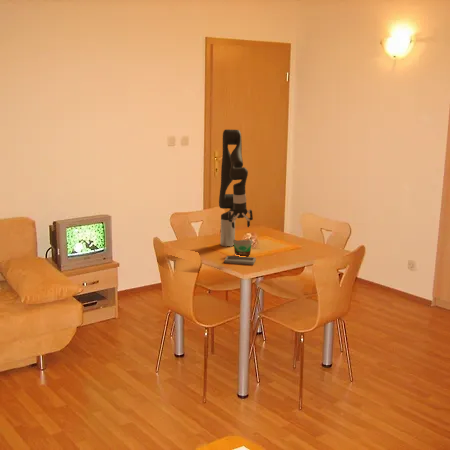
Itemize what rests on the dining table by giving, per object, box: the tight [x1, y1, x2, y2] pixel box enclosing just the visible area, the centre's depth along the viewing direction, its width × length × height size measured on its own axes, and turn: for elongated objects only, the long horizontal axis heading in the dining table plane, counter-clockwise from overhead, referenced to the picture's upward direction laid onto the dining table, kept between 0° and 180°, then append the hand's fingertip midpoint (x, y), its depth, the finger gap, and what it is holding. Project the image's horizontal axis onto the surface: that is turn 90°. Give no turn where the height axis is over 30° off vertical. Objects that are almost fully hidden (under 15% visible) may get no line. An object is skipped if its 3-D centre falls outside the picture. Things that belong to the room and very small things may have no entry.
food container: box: [233, 239, 253, 257], centre depth 371 cm, size 12×6×10 cm, turn 101°
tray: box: [223, 255, 257, 266], centre depth 359 cm, size 10×17×2 cm, turn 80°
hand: (240, 227), depth 364 cm, fingers open, 8 cm apart
